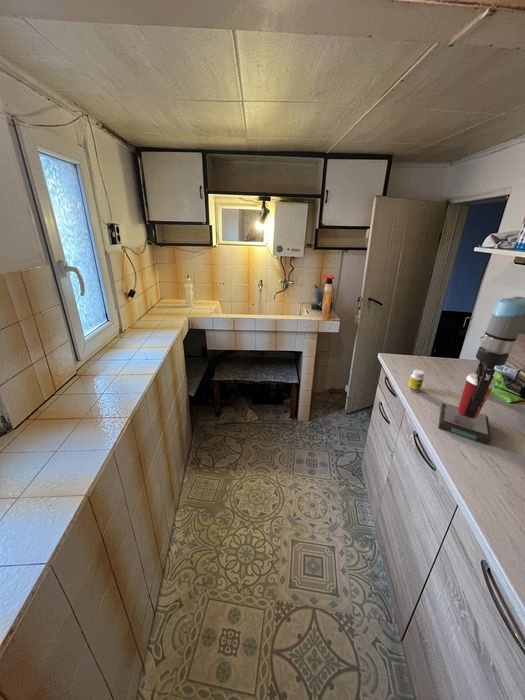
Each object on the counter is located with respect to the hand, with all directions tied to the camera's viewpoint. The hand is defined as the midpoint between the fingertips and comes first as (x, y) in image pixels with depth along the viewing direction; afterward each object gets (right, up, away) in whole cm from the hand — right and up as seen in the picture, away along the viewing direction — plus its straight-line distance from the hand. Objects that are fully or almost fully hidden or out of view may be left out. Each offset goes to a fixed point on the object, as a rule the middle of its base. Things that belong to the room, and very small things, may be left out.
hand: (468, 410), depth 96 cm
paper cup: (0, -1, +1) cm, 1 cm away
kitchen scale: (0, -6, +3) cm, 6 cm away
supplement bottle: (-6, +4, +23) cm, 24 cm away
